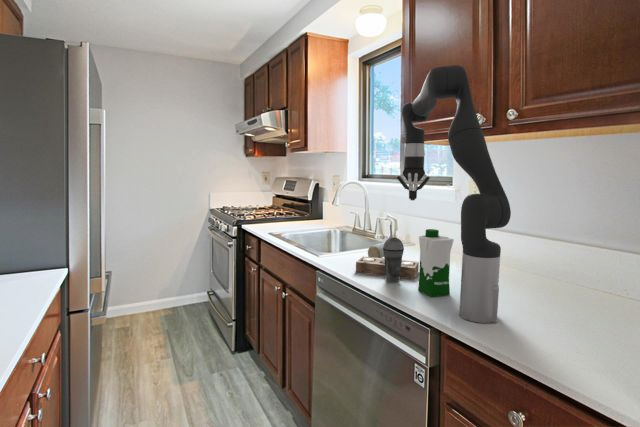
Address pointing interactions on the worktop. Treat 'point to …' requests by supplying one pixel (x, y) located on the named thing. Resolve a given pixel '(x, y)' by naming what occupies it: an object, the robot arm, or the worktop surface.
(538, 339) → the worktop surface
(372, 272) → the board
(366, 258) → the button
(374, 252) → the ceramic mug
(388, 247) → the beverage cup
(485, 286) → the robot arm
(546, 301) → the worktop surface
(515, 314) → the worktop surface
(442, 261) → the milk carton
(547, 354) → the worktop surface
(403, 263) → the button
